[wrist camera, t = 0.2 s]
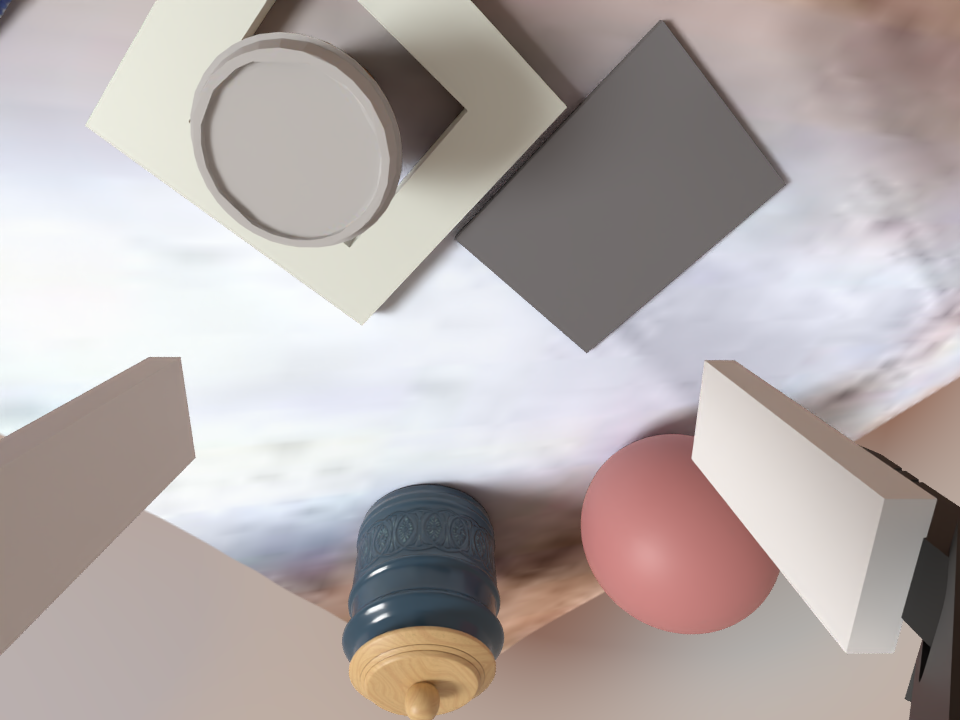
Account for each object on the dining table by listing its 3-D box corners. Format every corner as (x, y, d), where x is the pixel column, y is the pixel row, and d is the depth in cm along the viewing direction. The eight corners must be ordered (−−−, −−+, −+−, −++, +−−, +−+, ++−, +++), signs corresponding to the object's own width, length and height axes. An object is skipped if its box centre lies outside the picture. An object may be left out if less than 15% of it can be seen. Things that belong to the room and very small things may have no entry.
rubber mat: (659, 20, 34) (663, 20, 34) (781, 182, 40) (785, 184, 39) (455, 236, 41) (455, 239, 40) (585, 349, 46) (586, 353, 46)
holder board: (287, -201, 28) (277, -214, 26) (561, 101, 36) (567, 107, 35) (101, 119, 35) (85, 125, 34) (365, 312, 43) (362, 325, 42)
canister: (500, 563, 60) (519, 752, 45) (376, 579, 60) (354, 772, 45) (484, 471, 53) (501, 659, 38) (344, 490, 53) (307, 684, 38)
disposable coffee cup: (439, 82, 35) (438, 117, 25) (370, 213, 39) (345, 289, 29) (290, -16, 32) (221, -21, 22) (232, 137, 36) (152, 193, 26)
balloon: (807, 429, 52) (928, 573, 39) (633, 543, 59) (687, 697, 46) (714, 329, 46) (821, 462, 33) (531, 470, 53) (560, 624, 40)
